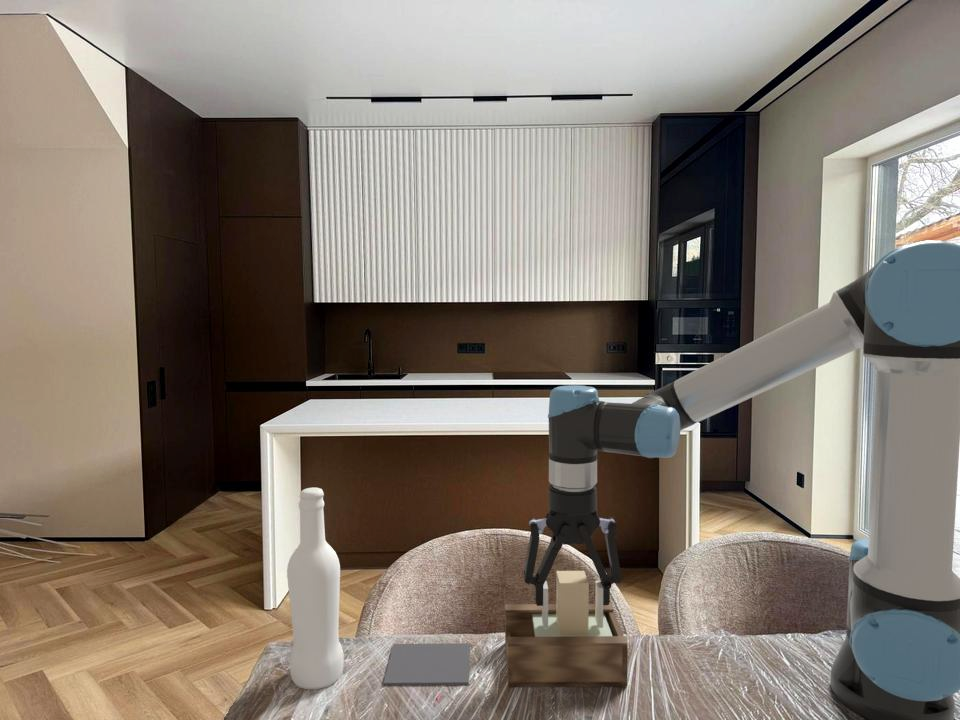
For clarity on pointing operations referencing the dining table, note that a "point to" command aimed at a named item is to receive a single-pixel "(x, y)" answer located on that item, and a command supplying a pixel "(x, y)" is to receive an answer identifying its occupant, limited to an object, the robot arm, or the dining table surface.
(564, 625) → the lid
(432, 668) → the mat
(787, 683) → the dining table surface
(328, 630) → the bottle
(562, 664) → the walnut box
